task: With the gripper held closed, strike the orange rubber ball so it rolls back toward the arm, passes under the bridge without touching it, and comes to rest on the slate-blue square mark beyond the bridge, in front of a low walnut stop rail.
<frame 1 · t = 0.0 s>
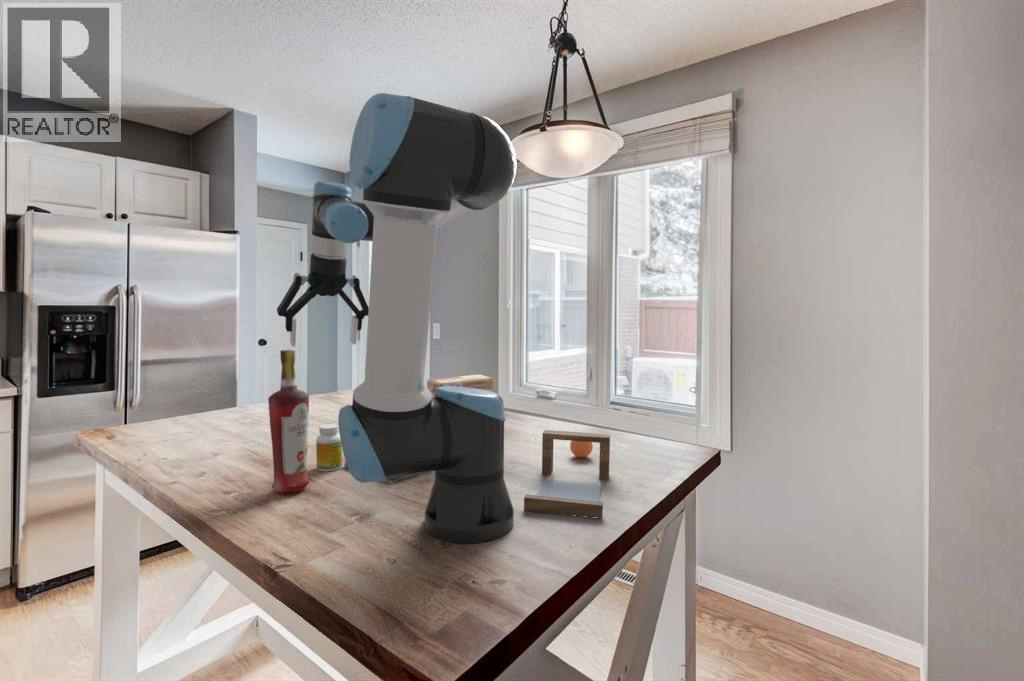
hand: (323, 343, 117), 28 cm above the table, tool tilted 20°, fingers open, 13 cm apart
ball: (581, 446, 122), on the table
liquor: (291, 491, 98), on the table
washcloth: (388, 471, 112), on the table
bridge: (575, 474, 109), on the table
stop rail: (562, 513, 89), on the table
coffeecake box: (460, 457, 122), on the table
supplement bottle: (329, 469, 112), on the table
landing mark: (569, 493, 98), on the table
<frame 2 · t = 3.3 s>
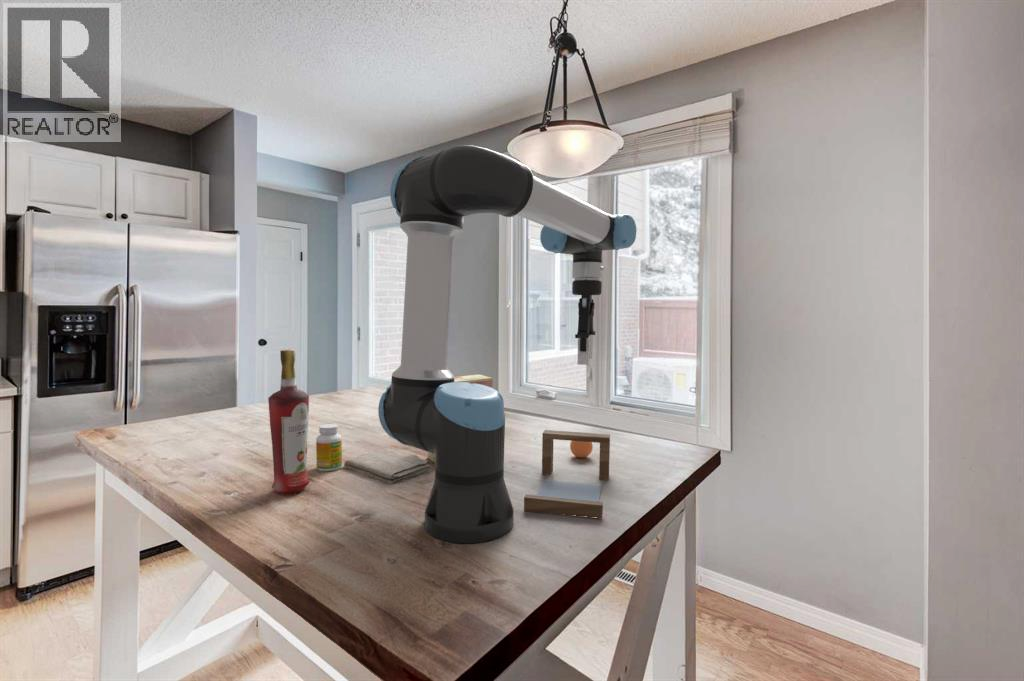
hand: (585, 361, 130), 23 cm above the table, tool pointing down, fingers open, 13 cm apart
nothing on the table moved.
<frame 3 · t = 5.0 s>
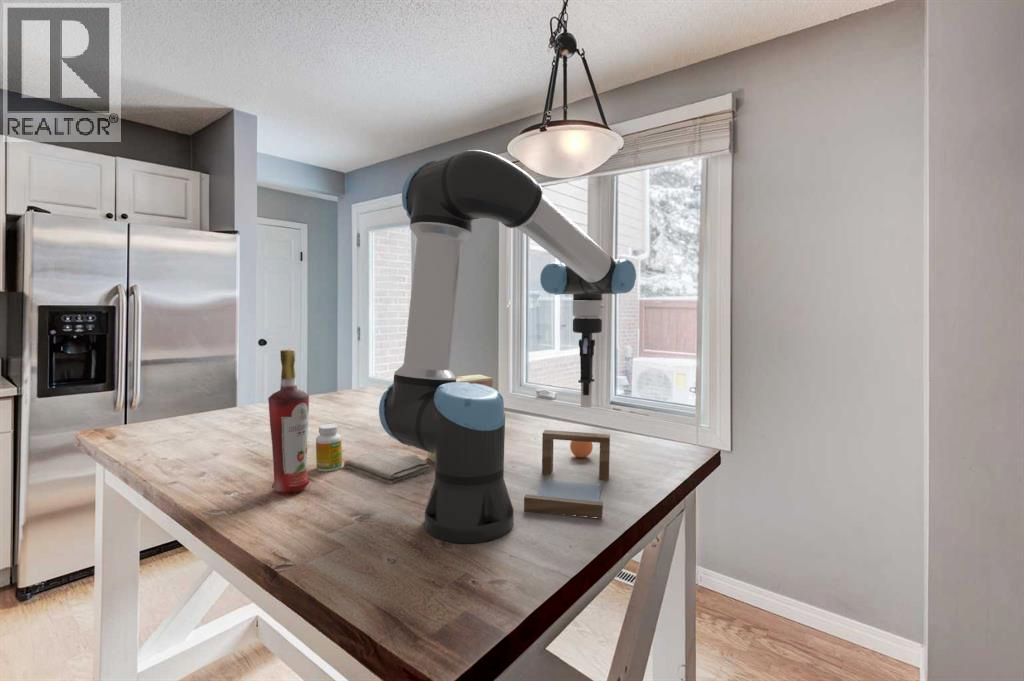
hand: (586, 406, 131), 11 cm above the table, tool pointing down, fingers closed
nothing on the table moved.
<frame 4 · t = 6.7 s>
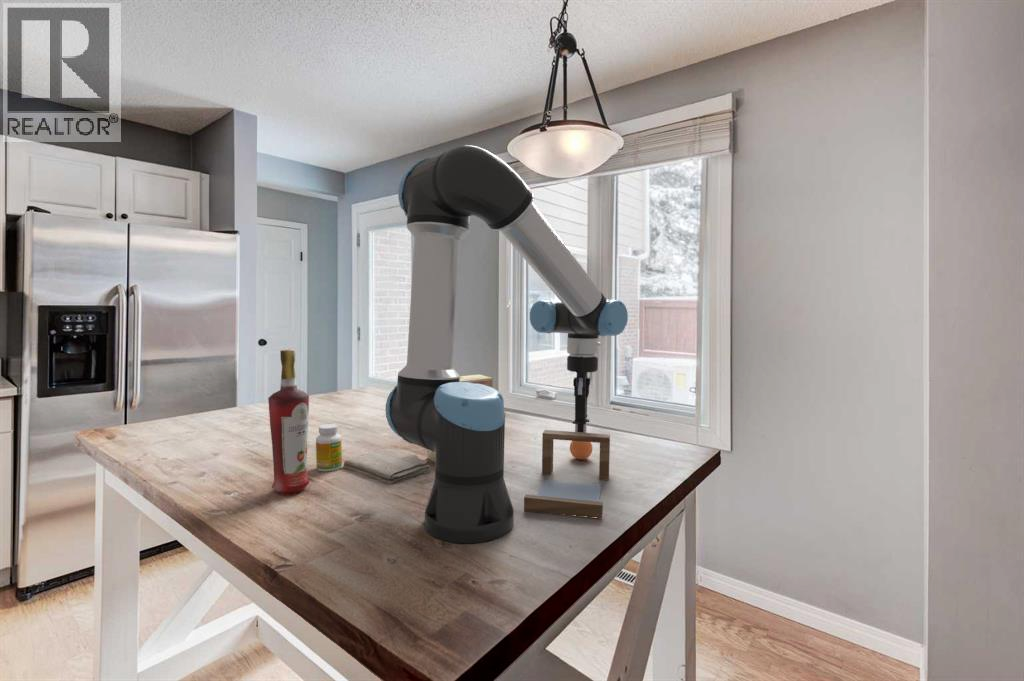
hand: (580, 448, 124), 2 cm above the table, tool pointing down, fingers closed
ball: (581, 448, 120), on the table, touching gripper
everything else where it was.
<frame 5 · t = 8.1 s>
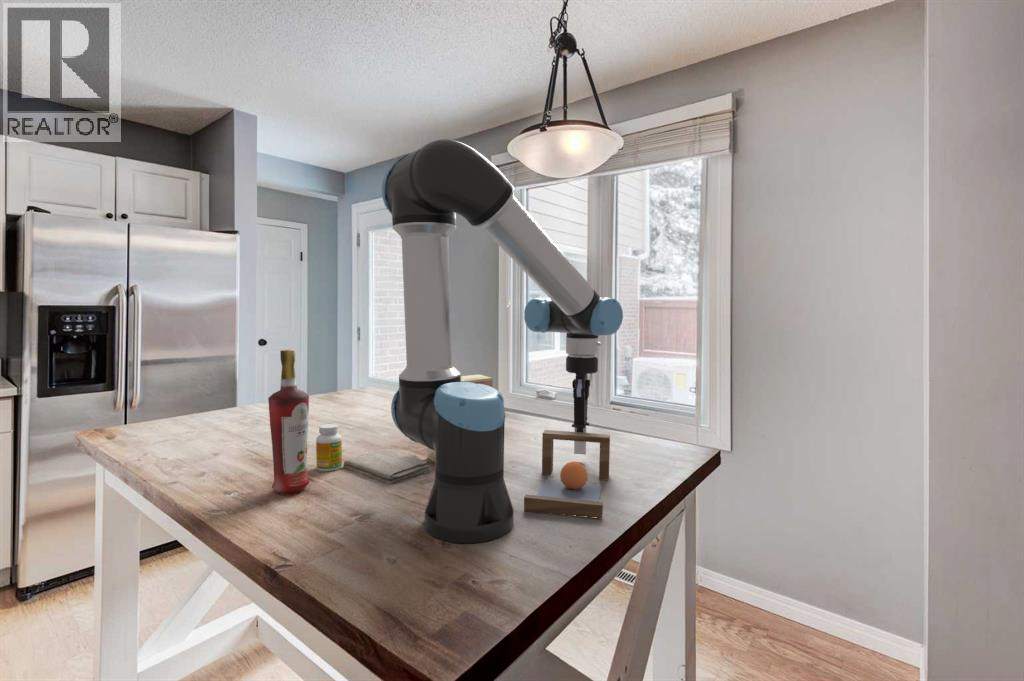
hand: (580, 453, 119), 2 cm above the table, tool pointing down, fingers closed
ball: (573, 475, 101), on the table
everything else where it was.
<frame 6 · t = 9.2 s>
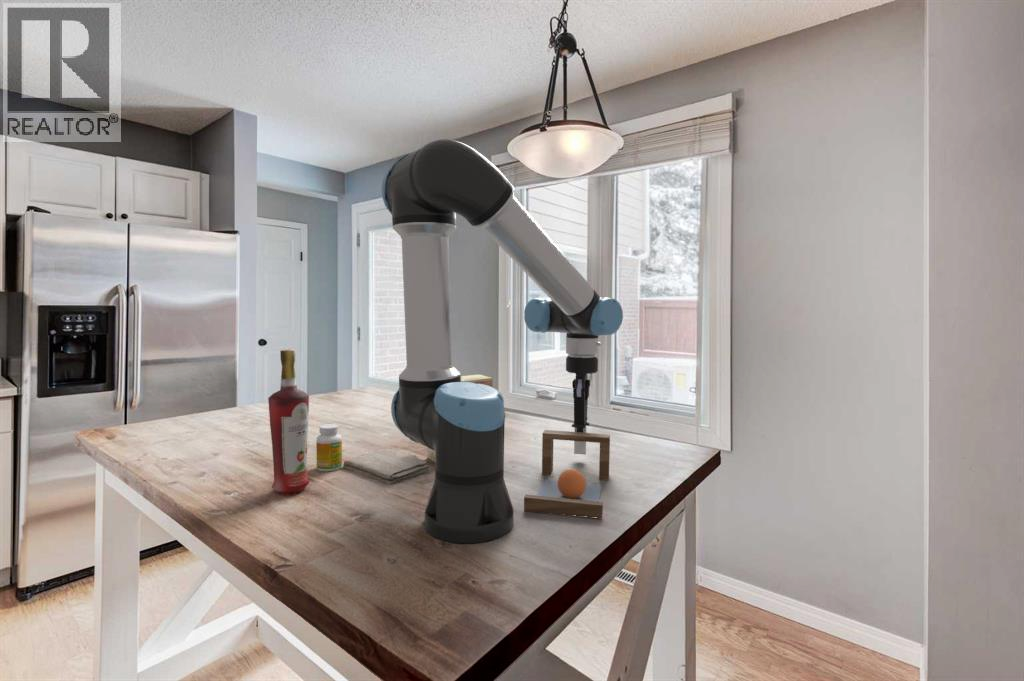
hand: (580, 453, 119), 2 cm above the table, tool pointing down, fingers closed
ball: (571, 483, 96), on the table
everything else where it was.
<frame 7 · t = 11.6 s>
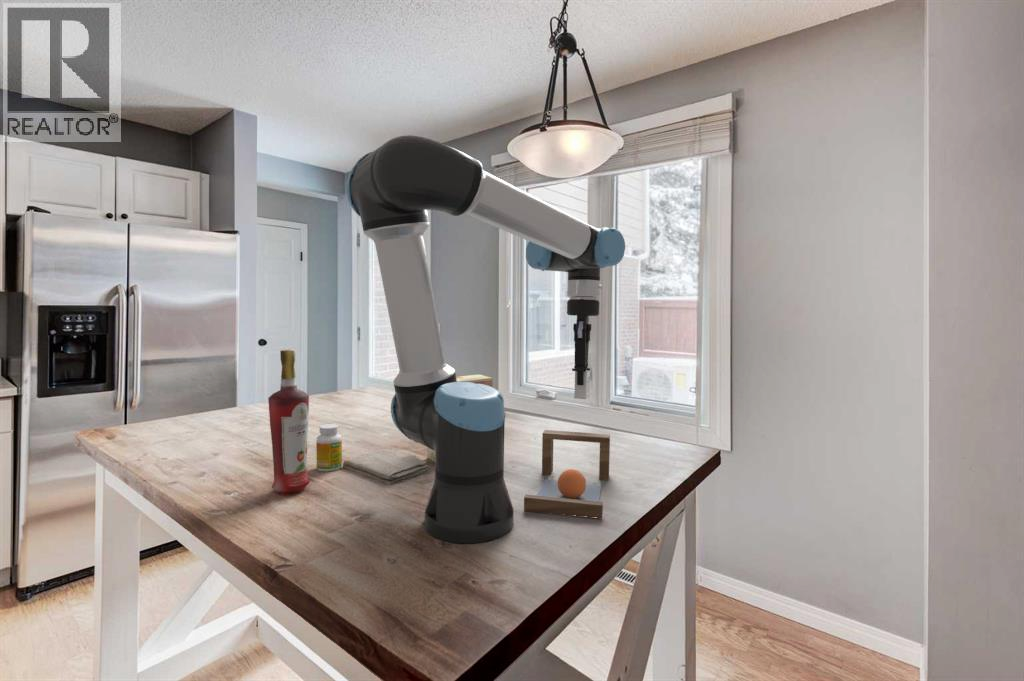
hand: (580, 398, 118), 15 cm above the table, tool pointing down, fingers closed
nothing on the table moved.
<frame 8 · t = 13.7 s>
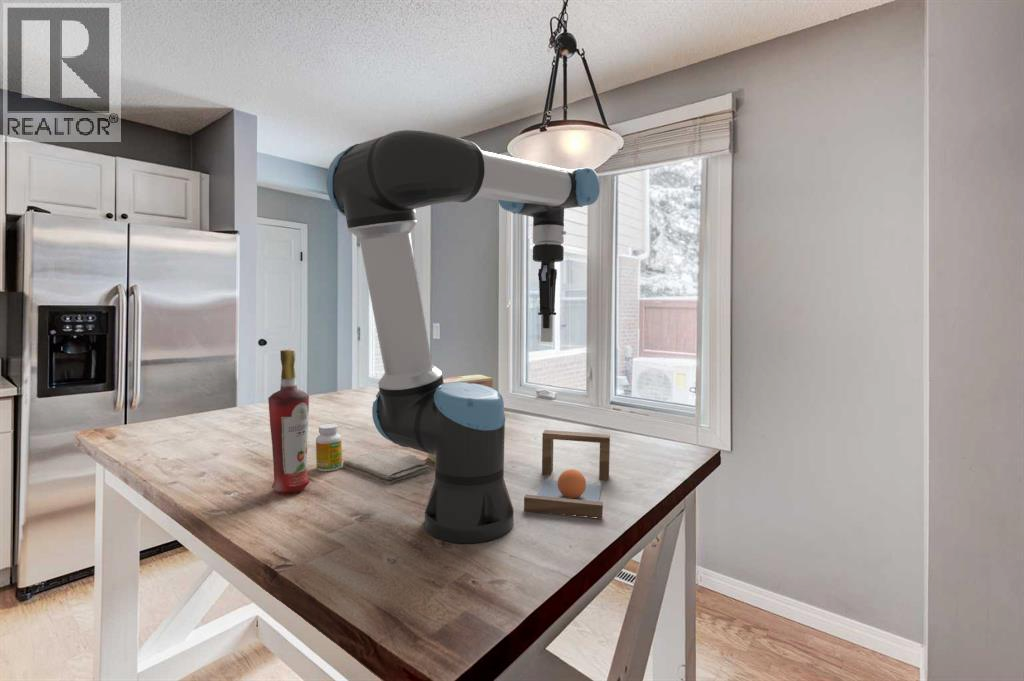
hand: (546, 341, 122), 28 cm above the table, tool pointing down, fingers closed
nothing on the table moved.
at the end: ball 1.9 cm from the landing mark (horizontally); ball never touched bridge; ball at rest at the end (0.0 cm/s) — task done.
